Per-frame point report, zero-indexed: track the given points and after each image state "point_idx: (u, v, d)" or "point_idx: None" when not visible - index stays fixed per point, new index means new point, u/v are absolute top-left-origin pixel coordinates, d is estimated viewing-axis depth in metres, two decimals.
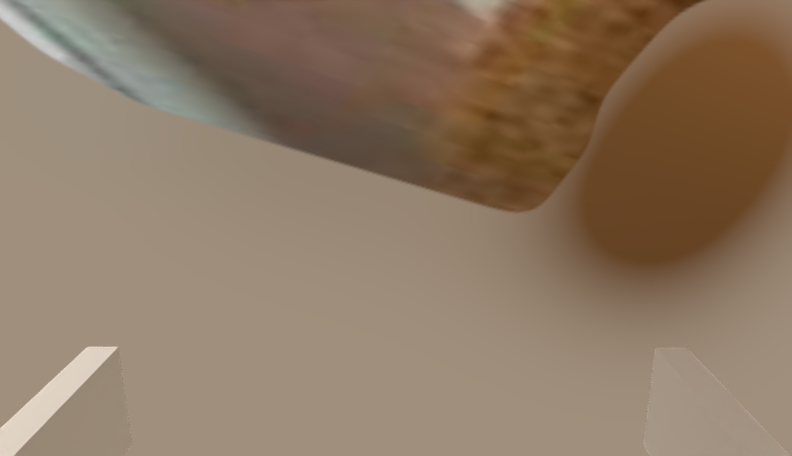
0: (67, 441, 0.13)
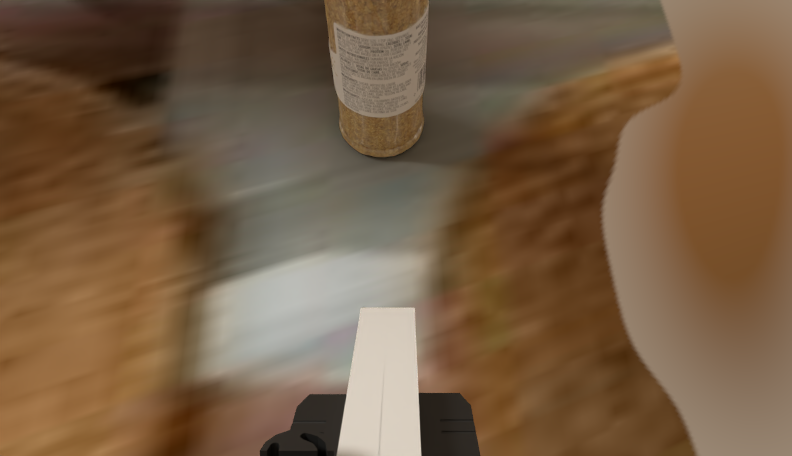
0: None
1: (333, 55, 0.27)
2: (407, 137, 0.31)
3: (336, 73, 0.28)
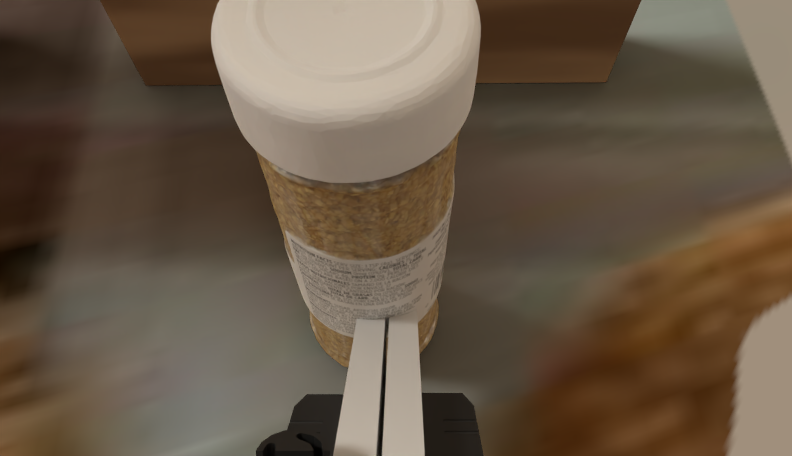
0: (383, 382, 0.15)
1: (290, 260, 0.16)
2: None
3: (297, 280, 0.17)
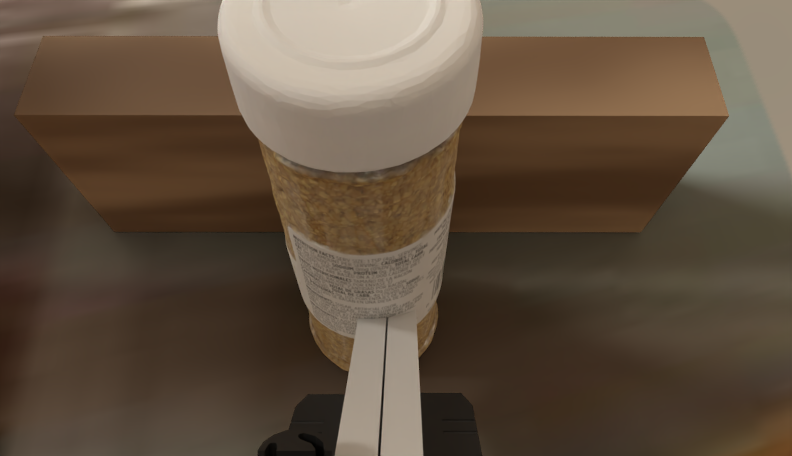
0: (384, 382, 0.15)
1: (292, 259, 0.16)
2: None
3: (298, 280, 0.17)
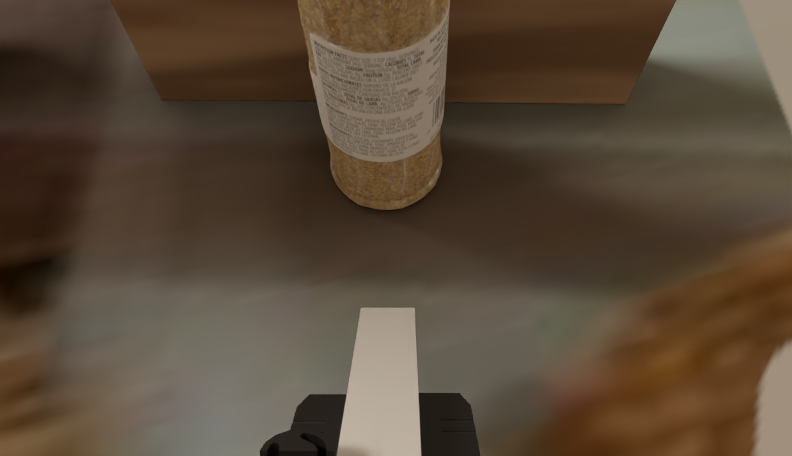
0: None
1: (314, 78, 0.19)
2: (419, 185, 0.23)
3: (319, 102, 0.20)
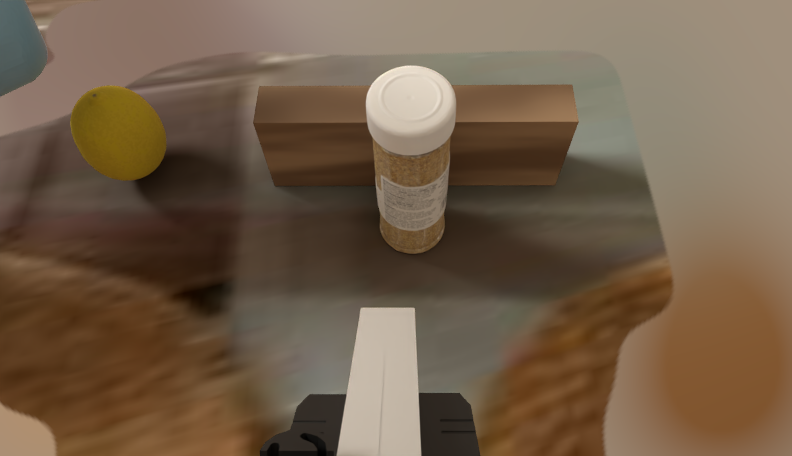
0: None
1: (379, 190, 0.36)
2: (432, 240, 0.40)
3: (380, 200, 0.37)
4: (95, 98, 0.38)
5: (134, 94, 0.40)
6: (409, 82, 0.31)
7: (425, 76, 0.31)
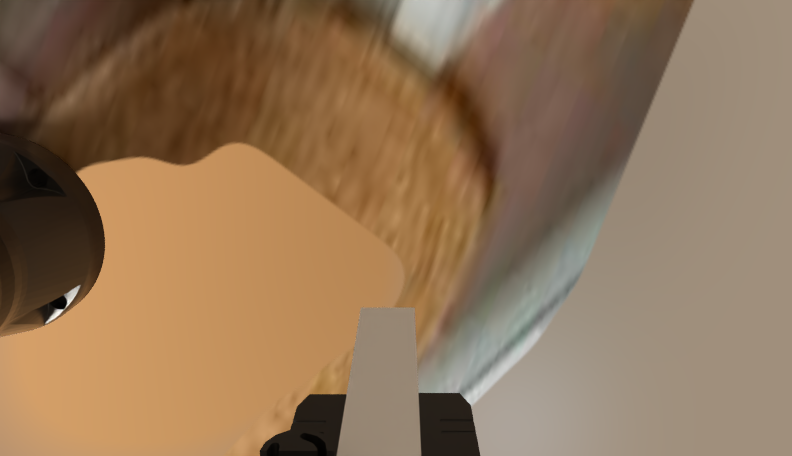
0: None
1: None
2: None
3: None
4: None
5: None
6: None
7: None
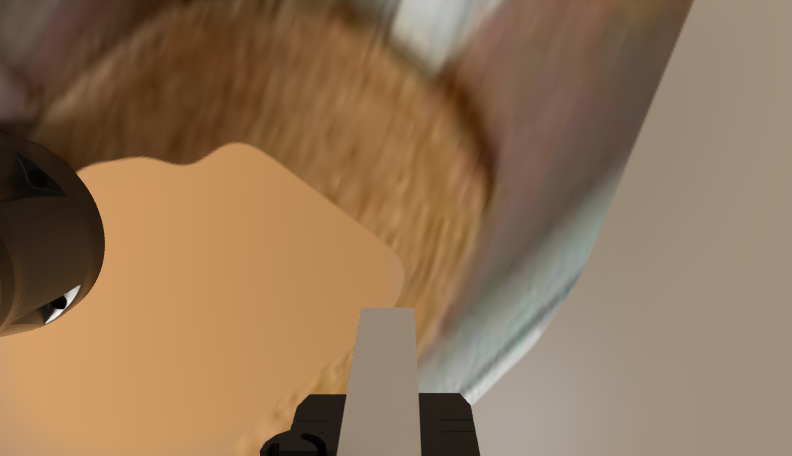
0: None
1: None
2: None
3: None
4: None
5: None
6: None
7: None
